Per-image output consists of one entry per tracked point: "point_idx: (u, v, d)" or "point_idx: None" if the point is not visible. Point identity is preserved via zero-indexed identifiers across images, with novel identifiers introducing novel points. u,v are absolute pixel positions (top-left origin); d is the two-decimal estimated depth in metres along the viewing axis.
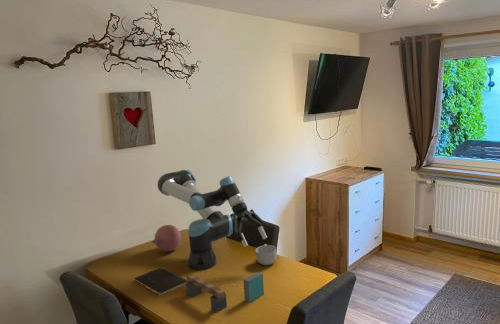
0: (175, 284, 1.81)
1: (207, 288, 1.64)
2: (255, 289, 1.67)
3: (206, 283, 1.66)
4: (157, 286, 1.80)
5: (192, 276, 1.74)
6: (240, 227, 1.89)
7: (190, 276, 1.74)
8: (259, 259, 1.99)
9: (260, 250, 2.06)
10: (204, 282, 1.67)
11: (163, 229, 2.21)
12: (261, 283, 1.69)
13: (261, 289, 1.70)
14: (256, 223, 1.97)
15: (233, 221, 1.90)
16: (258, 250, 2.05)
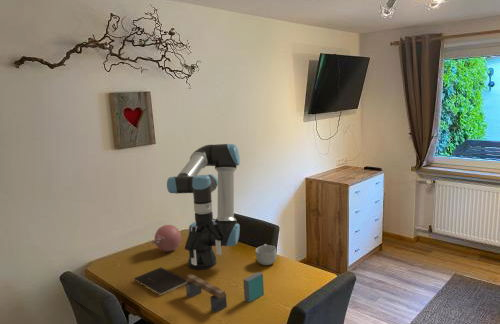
0: (175, 284, 1.81)
1: (207, 288, 1.64)
2: (255, 289, 1.67)
3: (206, 283, 1.66)
4: (157, 286, 1.80)
5: (192, 276, 1.74)
6: (196, 243, 1.59)
7: (190, 276, 1.74)
8: (259, 259, 1.99)
9: (260, 250, 2.06)
10: (204, 282, 1.67)
11: (163, 229, 2.21)
12: (261, 283, 1.69)
13: (261, 289, 1.70)
14: (215, 236, 1.68)
15: (190, 233, 1.58)
16: (258, 250, 2.05)
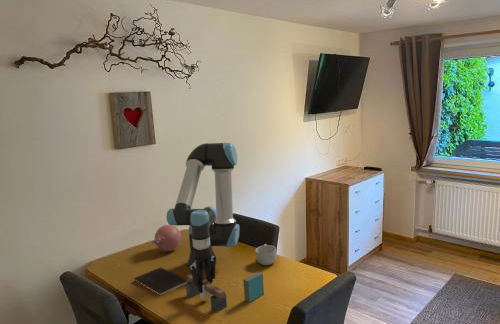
0: (175, 284, 1.81)
1: (207, 288, 1.64)
2: (255, 289, 1.67)
3: (206, 283, 1.66)
4: (157, 286, 1.80)
5: None
6: (201, 278, 1.64)
7: (190, 276, 1.74)
8: (259, 259, 1.99)
9: (260, 250, 2.06)
10: (204, 282, 1.67)
11: (163, 229, 2.21)
12: (261, 283, 1.69)
13: (261, 289, 1.70)
14: (207, 275, 1.67)
15: (192, 272, 1.62)
16: (258, 250, 2.05)
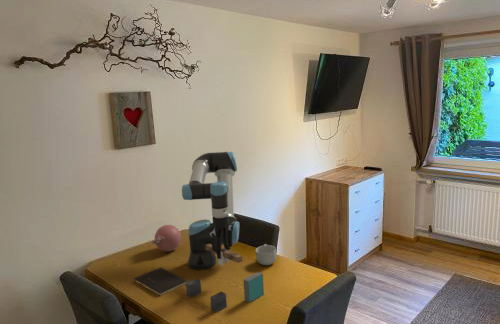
0: (175, 284, 1.81)
1: (225, 254, 1.77)
2: (255, 289, 1.67)
3: (224, 250, 1.80)
4: (157, 286, 1.80)
5: (210, 245, 1.87)
6: (220, 245, 1.77)
7: (209, 245, 1.87)
8: (259, 259, 1.99)
9: (260, 250, 2.06)
10: (222, 249, 1.81)
11: (163, 229, 2.21)
12: (261, 283, 1.69)
13: (261, 289, 1.70)
14: (225, 243, 1.81)
15: (212, 239, 1.75)
16: (258, 250, 2.05)
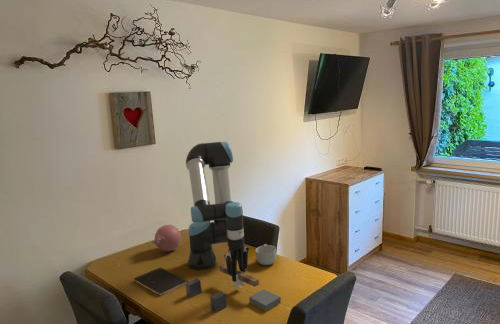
0: (175, 284, 1.81)
1: (241, 277, 1.71)
2: None
3: (239, 272, 1.74)
4: (157, 286, 1.80)
5: (225, 266, 1.81)
6: (235, 267, 1.72)
7: (223, 266, 1.82)
8: (259, 259, 1.99)
9: (260, 250, 2.06)
10: (237, 271, 1.75)
11: (163, 229, 2.21)
12: None
13: None
14: (240, 265, 1.75)
15: (227, 261, 1.70)
16: (258, 250, 2.05)
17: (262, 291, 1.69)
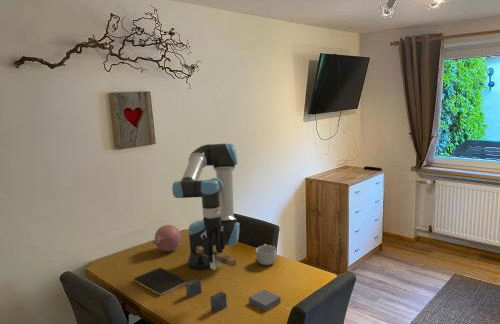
0: (175, 284, 1.81)
1: (218, 257, 1.63)
2: None
3: (216, 253, 1.66)
4: (156, 286, 1.80)
5: (201, 248, 1.73)
6: (212, 248, 1.64)
7: (199, 247, 1.74)
8: (259, 259, 1.99)
9: (260, 250, 2.06)
10: (214, 252, 1.67)
11: (163, 229, 2.21)
12: None
13: None
14: (217, 245, 1.67)
15: (203, 241, 1.61)
16: (258, 250, 2.05)
17: (262, 291, 1.69)
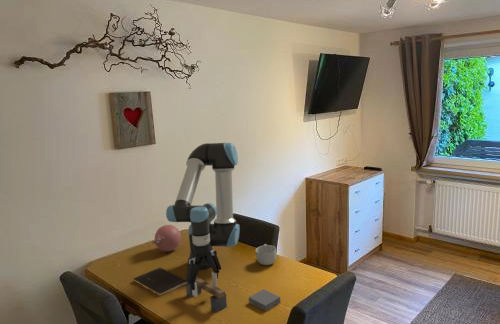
0: (174, 284, 1.81)
1: (207, 288, 1.64)
2: None
3: (206, 283, 1.66)
4: (156, 286, 1.80)
5: None
6: (196, 275, 1.62)
7: None
8: (259, 259, 1.99)
9: (260, 250, 2.06)
10: (204, 282, 1.67)
11: (163, 229, 2.21)
12: None
13: None
14: (212, 268, 1.69)
15: (189, 266, 1.60)
16: (258, 250, 2.05)
17: (262, 291, 1.69)
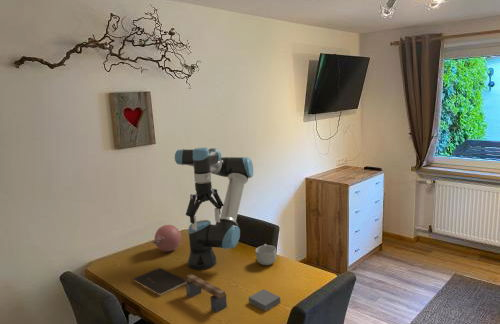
0: (174, 284, 1.81)
1: (207, 288, 1.64)
2: None
3: (206, 283, 1.66)
4: (156, 286, 1.80)
5: (192, 276, 1.73)
6: (196, 209, 1.73)
7: (190, 276, 1.74)
8: (259, 259, 1.99)
9: (260, 250, 2.06)
10: (204, 282, 1.67)
11: (163, 229, 2.21)
12: None
13: None
14: (214, 204, 1.82)
15: (191, 201, 1.73)
16: (258, 250, 2.05)
17: (262, 291, 1.69)
